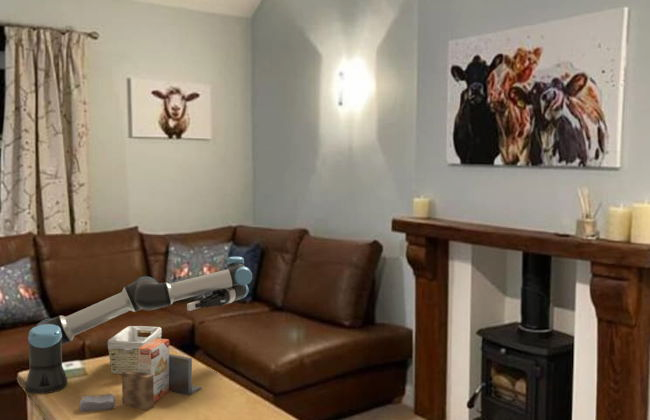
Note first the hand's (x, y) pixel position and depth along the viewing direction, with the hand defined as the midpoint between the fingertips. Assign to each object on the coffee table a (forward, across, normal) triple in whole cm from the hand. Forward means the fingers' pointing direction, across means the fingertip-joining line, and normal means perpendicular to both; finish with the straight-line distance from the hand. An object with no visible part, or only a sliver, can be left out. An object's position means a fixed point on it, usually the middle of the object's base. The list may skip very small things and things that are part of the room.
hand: (188, 307), depth 256 cm
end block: (+31, +1, +30) cm, 43 cm away
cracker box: (+22, 0, +30) cm, 37 cm away
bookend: (+10, +4, +30) cm, 32 cm away
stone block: (+37, -12, +30) cm, 49 cm away
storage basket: (-3, -31, +30) cm, 43 cm away
